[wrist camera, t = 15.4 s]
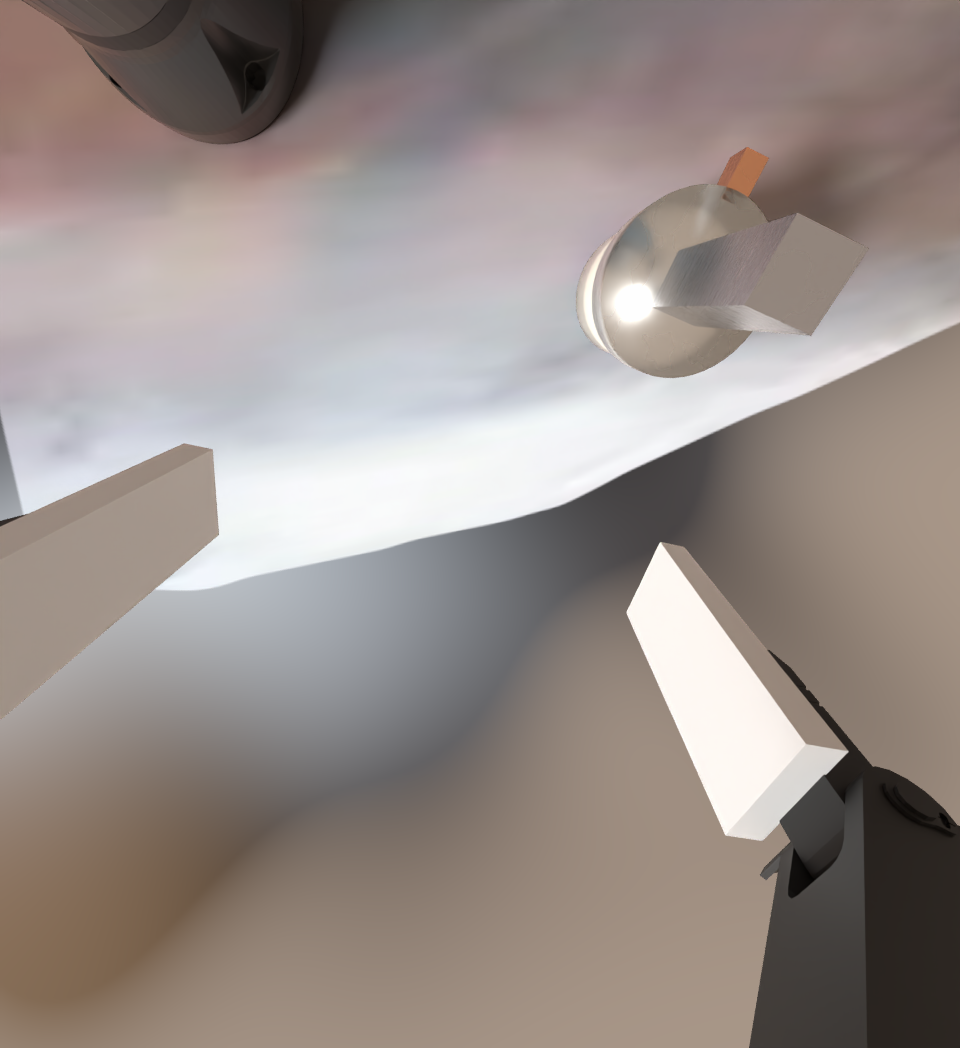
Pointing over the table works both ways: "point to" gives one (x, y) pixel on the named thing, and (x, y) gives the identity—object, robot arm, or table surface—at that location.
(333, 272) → the table surface
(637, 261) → the lid
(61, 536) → the robot arm
